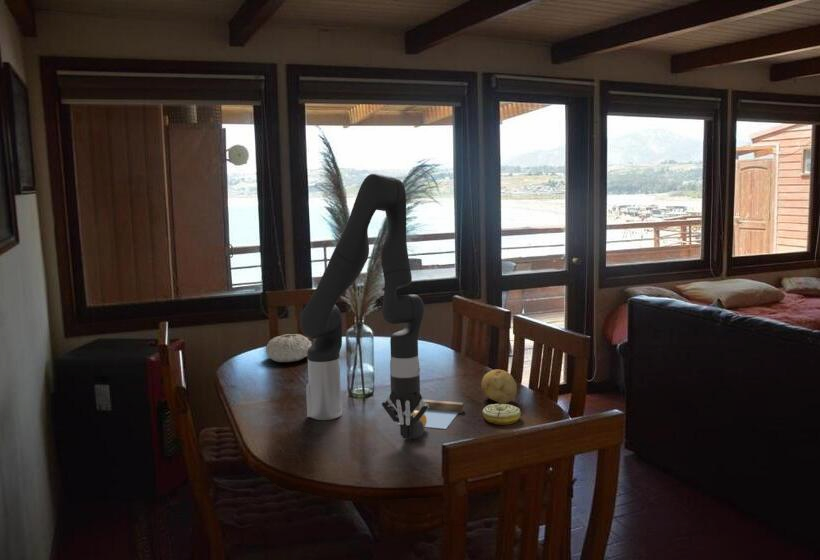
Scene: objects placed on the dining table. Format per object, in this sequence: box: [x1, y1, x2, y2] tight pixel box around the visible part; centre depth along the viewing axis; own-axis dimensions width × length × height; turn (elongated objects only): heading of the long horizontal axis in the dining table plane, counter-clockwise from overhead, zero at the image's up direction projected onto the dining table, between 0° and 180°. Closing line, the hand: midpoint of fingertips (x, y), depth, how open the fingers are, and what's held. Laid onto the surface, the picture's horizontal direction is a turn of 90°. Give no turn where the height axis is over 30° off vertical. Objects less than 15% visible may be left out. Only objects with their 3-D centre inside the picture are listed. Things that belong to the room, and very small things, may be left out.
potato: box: [480, 369, 518, 404], centre depth 204 cm, size 10×12×10 cm
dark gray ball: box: [409, 420, 425, 440], centre depth 176 cm, size 6×6×6 cm
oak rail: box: [416, 398, 465, 414], centre depth 198 cm, size 16×2×2 cm, turn 71°
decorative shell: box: [265, 333, 313, 363], centre depth 260 cm, size 18×18×10 cm
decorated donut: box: [482, 403, 522, 426], centre depth 189 cm, size 10×11×4 cm
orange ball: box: [413, 410, 427, 428], centre depth 182 cm, size 6×6×6 cm
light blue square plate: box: [397, 408, 460, 430], centre depth 191 cm, size 14×14×1 cm
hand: (406, 437), depth 173 cm, fingers closed
